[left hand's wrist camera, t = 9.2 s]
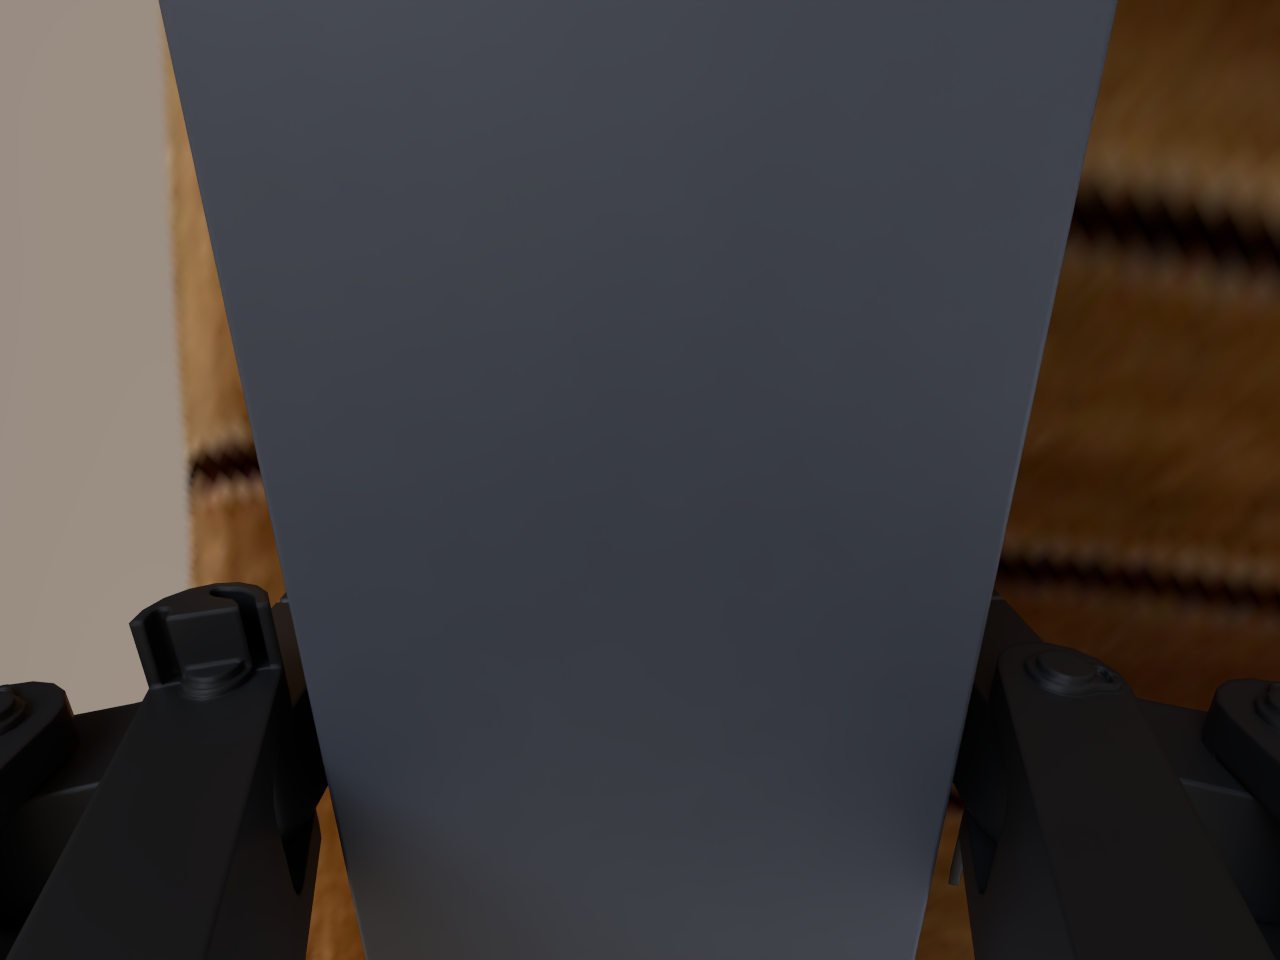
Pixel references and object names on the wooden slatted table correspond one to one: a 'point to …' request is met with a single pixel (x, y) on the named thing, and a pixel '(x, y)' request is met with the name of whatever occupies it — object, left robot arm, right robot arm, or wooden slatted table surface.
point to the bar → (639, 436)
